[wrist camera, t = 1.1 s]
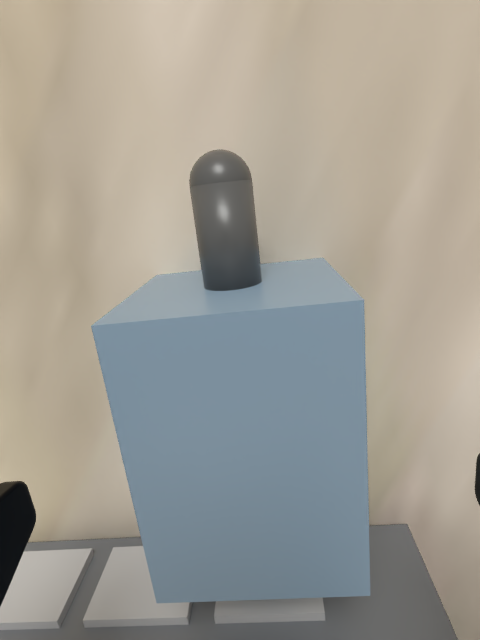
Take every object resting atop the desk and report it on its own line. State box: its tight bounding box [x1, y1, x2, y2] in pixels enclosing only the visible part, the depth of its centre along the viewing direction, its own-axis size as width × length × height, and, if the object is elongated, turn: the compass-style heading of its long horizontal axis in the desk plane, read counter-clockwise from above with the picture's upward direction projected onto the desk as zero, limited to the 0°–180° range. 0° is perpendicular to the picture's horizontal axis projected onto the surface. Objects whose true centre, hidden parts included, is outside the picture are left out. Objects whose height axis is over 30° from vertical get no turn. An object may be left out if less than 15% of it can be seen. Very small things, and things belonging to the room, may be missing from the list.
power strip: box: [0, 524, 458, 640], centre depth 13 cm, size 4×15×5 cm, turn 97°
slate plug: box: [91, 150, 370, 603], centre depth 10 cm, size 12×5×5 cm, turn 7°
